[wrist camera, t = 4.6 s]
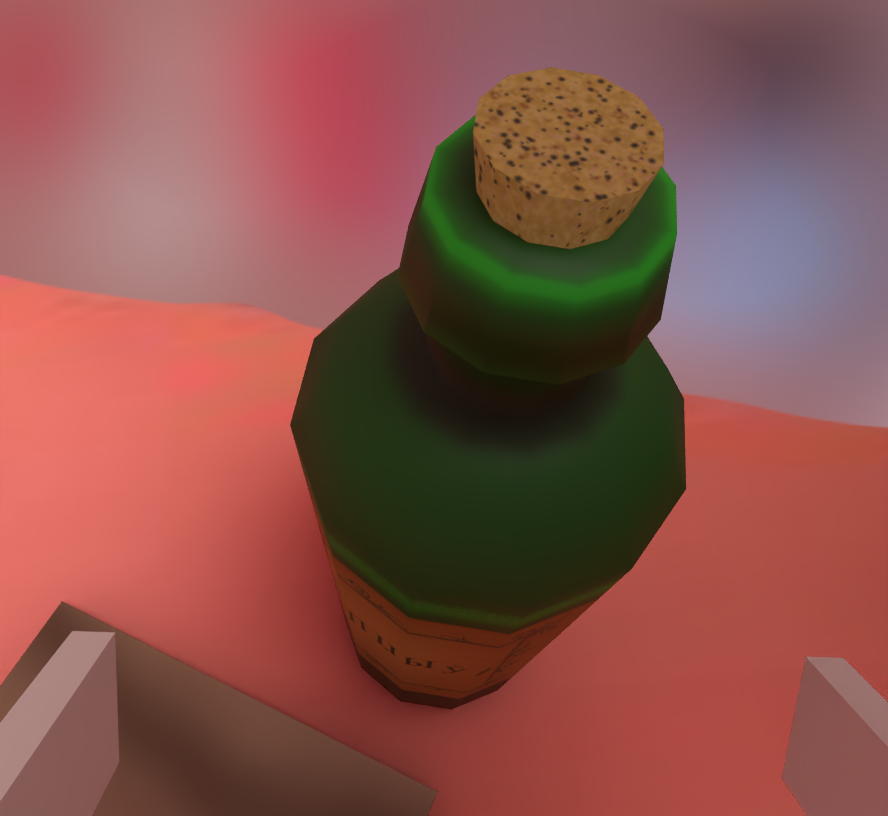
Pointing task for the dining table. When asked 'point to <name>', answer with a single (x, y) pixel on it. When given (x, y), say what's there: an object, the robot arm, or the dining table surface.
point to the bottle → (501, 393)
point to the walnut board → (216, 744)
